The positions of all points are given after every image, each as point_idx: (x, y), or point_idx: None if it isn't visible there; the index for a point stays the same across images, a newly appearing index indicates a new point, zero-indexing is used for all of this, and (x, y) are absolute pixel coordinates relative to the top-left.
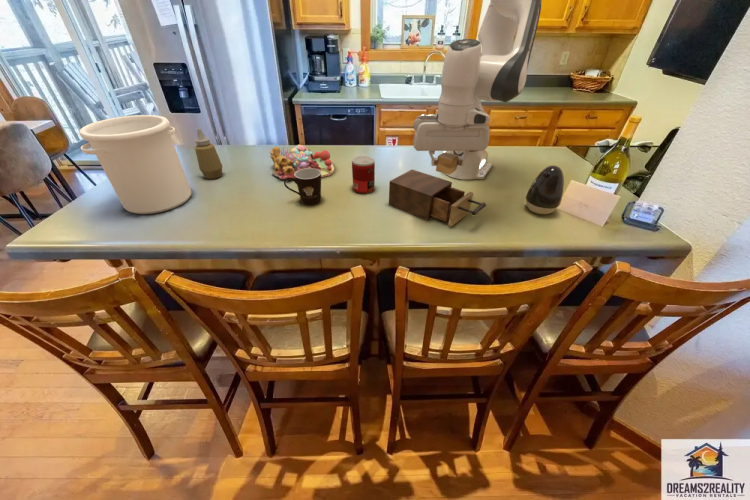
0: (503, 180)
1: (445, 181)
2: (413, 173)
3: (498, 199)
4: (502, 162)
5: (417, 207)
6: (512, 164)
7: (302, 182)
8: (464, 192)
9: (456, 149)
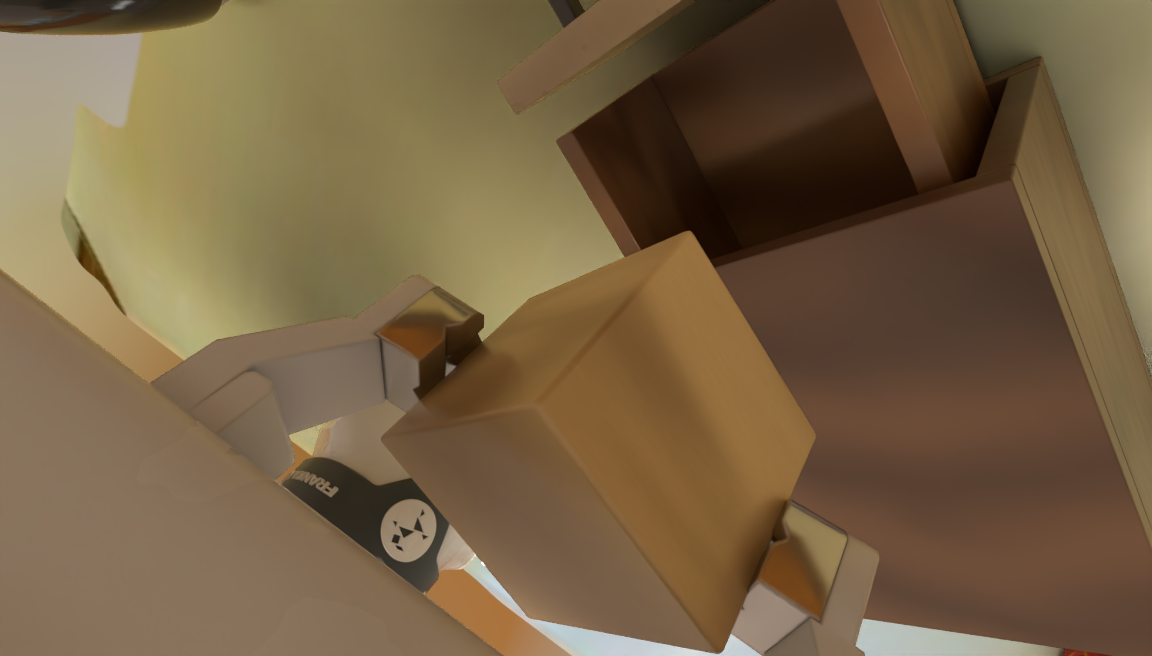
0: (325, 262)
1: None
2: None
3: (383, 117)
4: None
5: (1081, 230)
6: None
7: None
8: (562, 136)
9: (313, 553)
